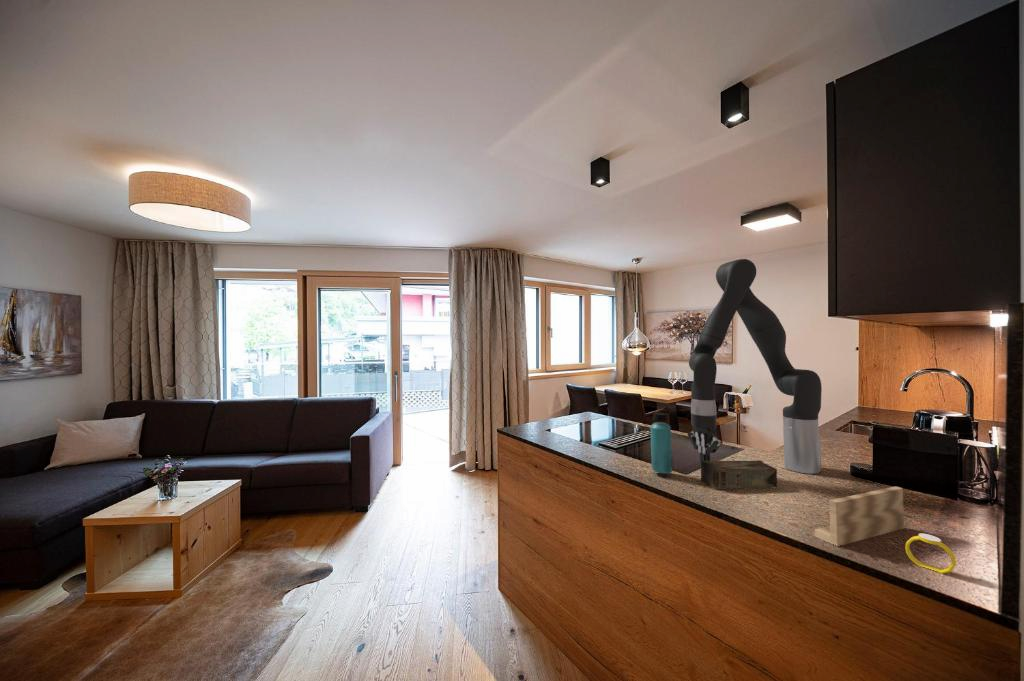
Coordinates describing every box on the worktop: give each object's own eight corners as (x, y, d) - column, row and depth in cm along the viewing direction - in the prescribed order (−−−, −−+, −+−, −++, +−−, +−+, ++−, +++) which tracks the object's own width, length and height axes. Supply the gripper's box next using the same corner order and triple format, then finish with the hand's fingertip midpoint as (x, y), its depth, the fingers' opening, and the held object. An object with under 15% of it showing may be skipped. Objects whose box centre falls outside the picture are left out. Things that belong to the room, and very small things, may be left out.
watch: (955, 575, 65) (957, 543, 65) (953, 581, 63) (955, 548, 63) (906, 557, 70) (908, 527, 69) (903, 562, 68) (905, 531, 68)
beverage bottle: (675, 478, 113) (673, 415, 113) (653, 477, 114) (651, 414, 114) (670, 471, 119) (668, 411, 120) (649, 470, 120) (647, 411, 121)
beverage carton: (779, 489, 104) (778, 466, 104) (714, 491, 103) (713, 468, 104) (760, 479, 112) (759, 457, 112) (699, 480, 111) (698, 459, 112)
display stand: (880, 519, 85) (878, 481, 85) (904, 528, 80) (902, 488, 81) (814, 536, 78) (813, 494, 78) (837, 546, 74) (835, 502, 74)
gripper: (729, 415, 115) (731, 469, 115) (697, 408, 128) (698, 457, 127) (710, 417, 113) (712, 472, 112) (679, 410, 125) (681, 459, 125)
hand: (705, 464), depth 120 cm, fingers closed
